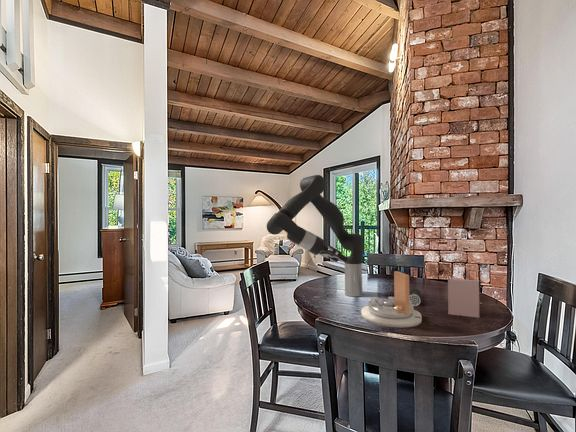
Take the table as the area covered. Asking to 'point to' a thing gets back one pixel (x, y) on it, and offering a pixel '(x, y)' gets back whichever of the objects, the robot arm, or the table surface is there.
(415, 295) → the flashlight
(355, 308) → the table surface
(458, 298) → the greeting card
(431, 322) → the table surface
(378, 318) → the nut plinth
